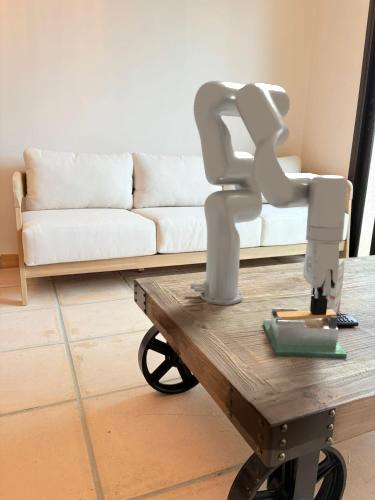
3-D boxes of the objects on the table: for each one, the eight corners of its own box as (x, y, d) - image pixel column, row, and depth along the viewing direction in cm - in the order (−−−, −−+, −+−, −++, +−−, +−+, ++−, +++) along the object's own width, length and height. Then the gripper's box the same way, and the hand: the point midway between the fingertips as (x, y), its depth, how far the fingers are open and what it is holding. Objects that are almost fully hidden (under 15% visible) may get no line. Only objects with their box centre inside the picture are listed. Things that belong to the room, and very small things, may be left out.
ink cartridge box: (321, 306, 111) (326, 256, 108) (339, 310, 109) (345, 259, 105) (313, 316, 104) (318, 263, 101) (333, 321, 102) (339, 266, 98)
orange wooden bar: (279, 320, 89) (279, 317, 88) (276, 315, 92) (276, 312, 91) (336, 317, 88) (336, 314, 88) (332, 312, 91) (332, 309, 91)
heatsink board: (275, 356, 84) (277, 325, 82) (263, 324, 99) (264, 298, 97) (346, 358, 83) (350, 327, 82) (323, 325, 99) (325, 299, 97)
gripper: (298, 227, 92) (293, 301, 96) (317, 240, 77) (310, 327, 82) (330, 227, 92) (324, 302, 96) (355, 240, 77) (346, 327, 81)
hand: (318, 313), depth 89 cm, fingers closed
